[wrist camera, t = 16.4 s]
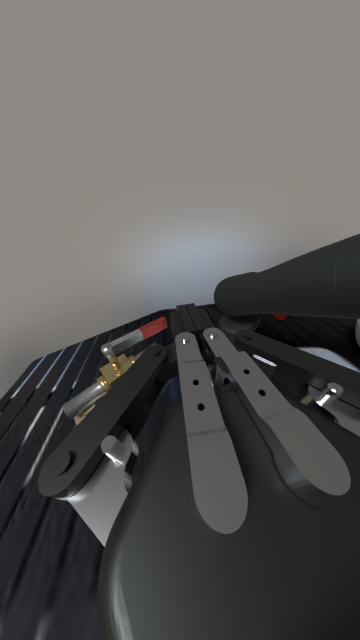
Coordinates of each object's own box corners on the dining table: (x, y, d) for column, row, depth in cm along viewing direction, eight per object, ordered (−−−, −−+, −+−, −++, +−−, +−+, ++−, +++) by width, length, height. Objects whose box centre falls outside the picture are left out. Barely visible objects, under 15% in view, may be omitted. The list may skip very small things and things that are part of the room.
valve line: (153, 349, 59) (147, 324, 51) (164, 358, 54) (159, 333, 47) (70, 408, 42) (43, 384, 35) (77, 427, 38) (49, 405, 30)
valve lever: (106, 360, 39) (102, 352, 37) (103, 354, 41) (99, 346, 39) (168, 327, 49) (166, 319, 47) (163, 324, 51) (162, 316, 49)
